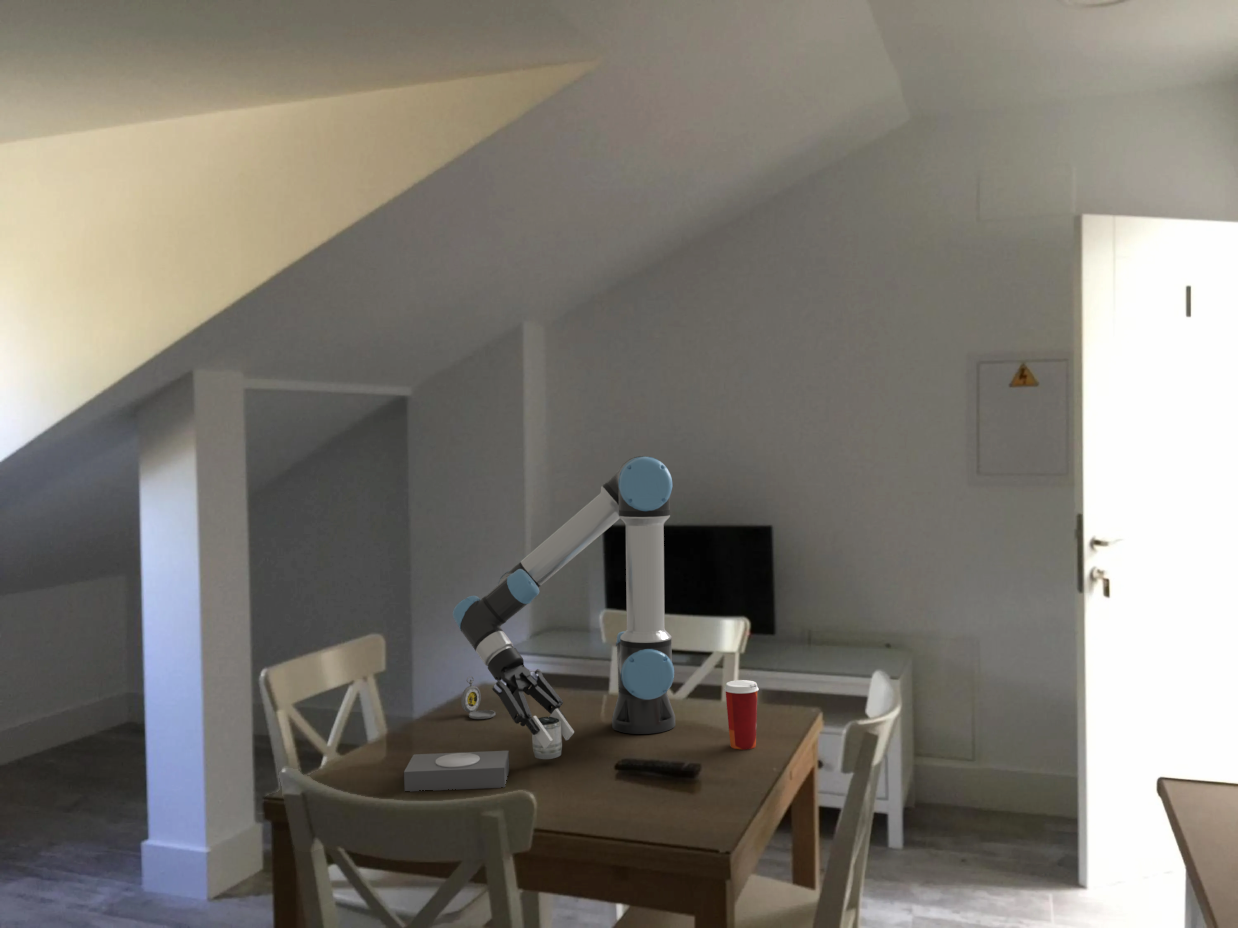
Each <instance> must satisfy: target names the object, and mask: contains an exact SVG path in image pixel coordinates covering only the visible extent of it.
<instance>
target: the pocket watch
mask: <svg viewBox="0 0 1238 928" xmlns="http://www.w3.org/2000/svg"><path fill="white" fill-rule="evenodd" d="M469 678H471V679H470V680H468V679H469ZM474 680H475V678H474V676H472V675H471V676H468V677H467V678H466V682H467V683H468V684H469V686H467V687H466V688H465V689H464V691H463V692H462V694H461V700H460V701H461V702H460V704H461V707H462V709H463V710H464V711H465V712H467V713H468V717H469V718H470V719H472V720H473V719H474V720H487V719H491V718H493V717H495V716H496V711H494V710H489V709H483V710H482V709H480V710H478V708H479V706H480V704H481V698H482V695H481V690H480V689H479V687H477V686H476V685H473V682H474ZM469 704H470V705H469Z"/></svg>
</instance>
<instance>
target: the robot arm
mask: <svg viewBox="0 0 1238 928" xmlns="http://www.w3.org/2000/svg"><path fill="white" fill-rule="evenodd" d="M672 490H673V479H672V475H671V472H670V470H669V469H668V468H667V466H666V465H665V464H664V463H663V462H662V461H660V460H659V459H657V458H656V457H655V458H654V457H652V456H644V455H642V456H641V455H639V456H634V457H632V458H629V459H627V460H626V461H624V463H623V464H622V465H621V466H619V468H618V470H617V471H616V472H615V473H614V474H613V475H612V476H611V478H609V479H608V480H607V481H606V482H605V483H604V484H603V485H601V487H600V493H599V494H598V495H597V496H595V497H593V499H592V500H591V501H589V502H588V503H587V504H586V505H585V506H583V507H582V509H580V510H579V511H578V512H576V513H575V514H574V515H573V516H571V518H569V519H568V520H567V521H566V522H565V523H563V525H561V526H560V527H559V528H558V529H556V531H554V532H553V533H552V534H550V536H549V537H547V538H546V539H545V540H544V541H542V542H541V543H540V544H539V545H538V546H537V547H535V548H534V549H533V550H532V551H530V553H529V554H527V555H526V556H525V557H524V558H523V559H521V560H520V561H519V562H518V564H516V565H514V566H513V567H512V568H511V569H510V570H508V571H506V572H505V573H504V574H503V575H502V576H500V578H499V580H498V582H497V583H498V584H497V585H496V587H494V588H493V589H492V590H491V591H490V592H489V593H488V594H486V595H485V596H483V597H481V598H480V597H479V596H477V595H470V596H467V597H466V598H464V599H462V600H461V601H459V602H458V603H457V604H456V605H455V607H454V608H453V611H452V619H453V620H454V621H455V623H456V625H457V626H458V627H459V631H460V632H461V633H462V634H463V636H464V637H465V638H466V640H467V641H468V643H469V644H470V645H471V647H472V648H473V649H474V651H475V652H476V654H477V655H478V657H479V658H480V659H481V660H482V663H483V664H484V665H485V666H486V667H487V670H488V671H489V673H490V674H491V675H492V677H493V679H494V680H496V683H495V684H494V685H493V686H492V688H491V689H492V691H493V692H494V693H495V694H496V695H497V697H498V698H499V699H500V701H501V703H502V704H503V705H504V708H505V709H506V710H507V713H508V714H509V715H510V717H511V719H512V721H513V722H514V723H515V724H520V726H522V727H525V726H526V727H527V729H528V730H529V731H530V733H531V734H533V735H535V736H536V738H537V739H538V740H539V742H540V743H541V745H542V746H543V748H544V749H545V748H547V747H548V746H549V744H550V743H551V742H552V741H553V739H552V738H551V736H550V735H549V734H548V732H547V731H546V729H545V728H544V727H543V725H542V724H541V722H540V721H539V719H538V718H539V717H538V716H537V715H533V714H532V712H531V709H530V707H529V704H528V701H527V698H526V696H525V695H527V696H530V697H531V698H532V699H534V700H535V701H536V702H537V703H538V704H539V705H540V706H541V707H542V708H544V710H546V711H547V712H548V713H549V714H550V715H549V716H548V717H553V718H557V719H559V720H560V722H561V736H562V737H563V739H564V740H565V741H569V740H570V739H571V738H572V736H573V735H574V734H575V730H574V729H573V728H572V726H571V725H570V724H569V722H568V720H567V717H566V716H565V715H564V713H563V712H562V709H560V708H561V706H563V704H564V701H563V699H562V698H561V697H560V696H559V694H558V693H557V692H556V691H555V690H554V688H553V687H552V686H551V685H550V683H549V682H548V681H547V680H546V679H545V677H544V675H543V673H542V671H541V670H540V669H539V668H537V669H535V671H530V669H528V668H527V667H526V666H525V663H524V659H523V656H522V655H521V654H520V652H519V651H518V650H517V648H516V647H514V644H513V642H512V641H511V639H510V638H509V637H508V635H507V634H506V633H505V631H504V630H503V629H502V627H501V626H503V625H504V624H505V623H507V621H509V620H510V619H511V618H512V617H513V616H515V615H516V614H518V612H520V611H521V610H522V609H523V608H525V607H526V606H527V605H529V604H531V603H532V601H533V600H534V599H536V597H537V596H538V595H539V594H540V587H541V586H542V585H543V584H544V583H546V582H547V581H548V580H549V579H551V577H553V576H554V575H555V574H556V573H558V571H560V570H561V569H562V568H563V567H564V566H565V565H567V564H568V563H569V562H571V560H573V559H574V558H575V557H576V556H577V555H579V554H580V553H581V552H582V551H584V549H586V548H587V547H588V546H589V545H591V543H593V542H594V541H595V540H596V539H598V538H599V536H601V535H602V534H604V533H605V532H606V531H607V530H608V529H609V528H611V527H612V525H614V524H615V523H616V522H618V521H619V520H621V521H623V523H624V524H625V569H626V570H625V574H626V575H625V582H626V587H625V588H626V589H625V590H626V595H625V596H626V630H624V631H620V632H618V633H617V635H616V642H615V647H616V659H617V660H616V661H617V684H618V685H617V687H618V695H617V699H616V703H615V706H614V710H613V713H612V717H611V727H612V729H613V730H614V731H617V732H620V733H624V734H631V735H632V734H633V735H634V734H635V735H648V734H649V735H650V734H658V733H665V732H667V731H670V730H672V729H673V728H676V715H675V712H674V709H673V707H672V704H671V700H670V698H669V696H668V690H669V689H670V688H671V687H672V685H673V683H674V680H675V678H674V677H675V668H674V664H673V658H672V656H673V653H672V649H673V647H672V646H673V645H672V635H671V634H670V633H669V632H668V631H667V630H666V629H665V625H666V624H665V619H666V618H665V546H664V545H665V544H664V543H665V542H664V541H665V537H664V536H665V534H664V530H665V529H664V526H665V523H666V522H667V520H668V519H669V518H671V494H672ZM524 693H525V694H524Z"/></svg>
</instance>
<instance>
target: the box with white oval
mask: <svg viewBox="0 0 1238 928" xmlns="http://www.w3.org/2000/svg"><path fill="white" fill-rule="evenodd" d="M509 752H510V751H509V750H494V751H493V750H490V751H469V752H466V751H465V752H464V751H463V752H445V753H444V752H441V753H439V752H438V753H420V754H419V753H418V754H417V753H416V754H415V753H414V754H413V755H412V757H411V758H410V760H409V762H408V764H407V766H406V767H405V769H404V770H403V781H404V782H403V783H404V792H405V791H410V792H426V791H425V790H433V791H450V790H452V789H453V790H455V789H456V790H475V789H477V790H478V789H500V788H501V787H503V788H506V785H507V781H508V777H507V776H509V774H510V773H509V772H510V757H509V756H510V755H509V754H510V753H509ZM506 780H507V781H506ZM505 784H506V785H505ZM448 789H449V790H448ZM419 790H421V791H419ZM422 790H424V791H422ZM456 790H455V791H456Z"/></svg>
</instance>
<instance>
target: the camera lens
mask: <svg viewBox="0 0 1238 928" xmlns="http://www.w3.org/2000/svg"><path fill="white" fill-rule="evenodd" d="M537 718H538V719H539V721H540V722H541V724H542V725H543V727H544V728H545V729H546V731H547V732H548V734H549V735H550V736H551V738H552V739H553V741H552V742H551V743H550V744H549V746H548V747H547V748H545V749H544V748H543V746H542V745H541V743H540V742H539V740H538V739H537V738H536V736H535V735H533V734H532V733H531V734H532V735H531V736H532V739H531V742H532V750H533V754H534V757H535V758H536V759H539V760H551V759H555V758H559V757H560V756H561V755H562V749H563V740H562V737H563V736H562V734H561V722H560V720H559V719H557V718H553V717H549V716H542V717H537Z"/></svg>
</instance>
